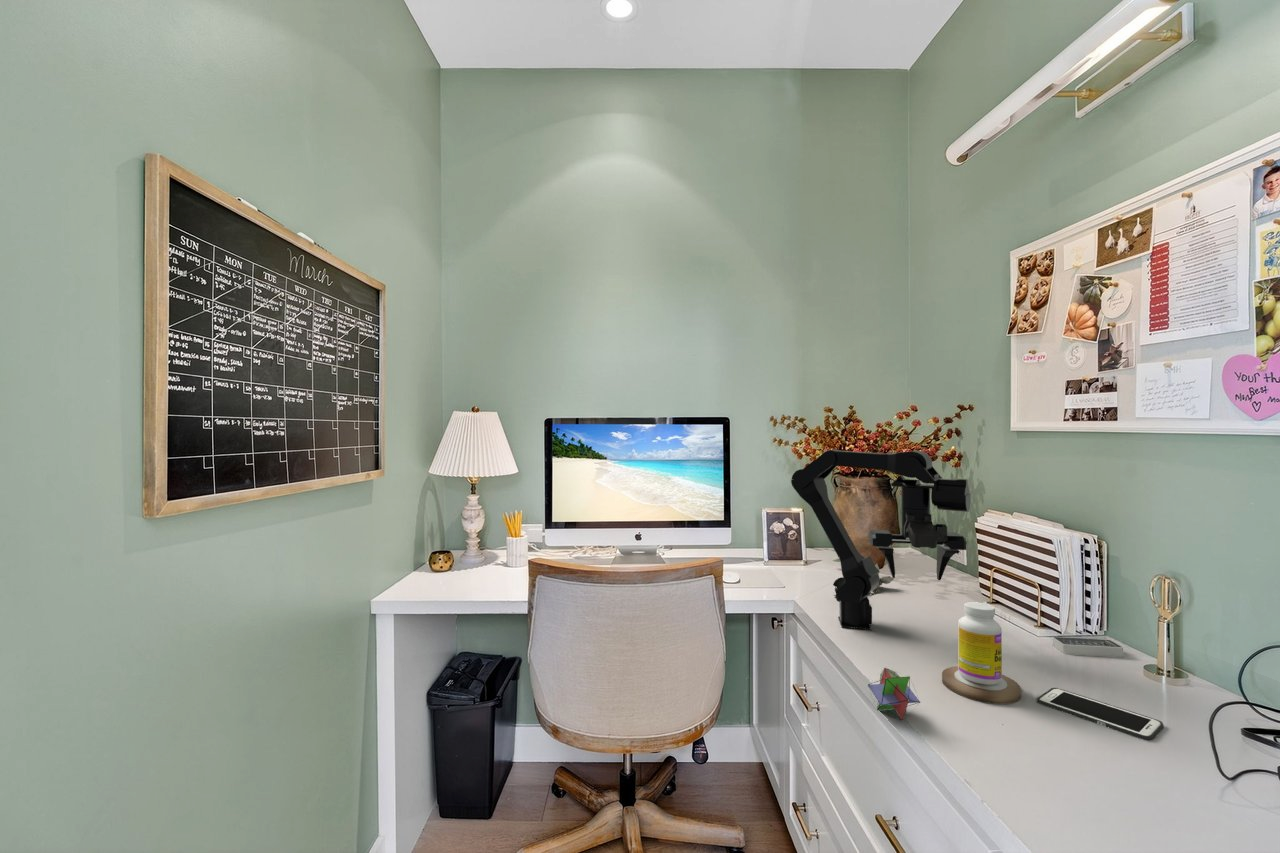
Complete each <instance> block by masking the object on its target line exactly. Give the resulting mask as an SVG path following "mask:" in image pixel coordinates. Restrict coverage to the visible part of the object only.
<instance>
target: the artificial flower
mask: <svg viewBox="0 0 1280 853" xmlns="http://www.w3.org/2000/svg"><path fill="white" fill-rule="evenodd" d="M874 565H875V567H876V568H877V569H878V570H879V571H880V567H879V565H878V563H876V564H874ZM879 574H880V572H879V573H878V575H879ZM879 576H880V575H879ZM879 578H880V577H879ZM894 579H895V578H893V577H892V576H891V575H886V576H883V577H881V578H880V581H879V585H878V586H877V588H875V589H874V590H873V591H872V592H871V594H870V596H873V595H874V594H875V595H876V593H877V592H878V591H879V590H880V588H879V587H880V586H882V585H883V584H885V585H887V584H890V583H891V582H892V581H894ZM844 584H845V581H844V578H843V576H842V577H838V578H836V579H835V580H834V582H833V584H832V586H834V591H835V593H836V590H838V589H839V588H840V587H841V586H843V585H844ZM833 596H834V599H836V601H837V602H839V600H838V598H837V595H836V594H833Z"/></svg>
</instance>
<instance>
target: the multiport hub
mask: <svg viewBox="0 0 1280 853" xmlns="http://www.w3.org/2000/svg"><path fill="white" fill-rule="evenodd" d="M1051 641H1052V647H1053V648H1054V649H1056V650H1057V651H1059V652H1060V653H1061V654H1064V655H1073V656H1076V655H1077V656H1088V657H1089V656H1093V657H1109V658H1120V659H1121V658H1124V647H1123V646H1121V645H1119V644H1118V643H1116V642H1115V641H1113V640H1110V639H1102V638H1101V639H1100V638H1099V639H1097V638H1083V637H1082V638H1079V637H1061V636H1059V637H1058V636H1053V637H1052V640H1051Z"/></svg>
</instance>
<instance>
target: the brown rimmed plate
mask: <svg viewBox="0 0 1280 853" xmlns="http://www.w3.org/2000/svg"><path fill="white" fill-rule="evenodd" d="M941 681H942V682H941V683H942V684H943V686H944V687H946V688H947V689H948V690H950V691H951V692H953V693H955V694H957V695H959V696H962V697H963V698H966V699H970V700H974V701H978V702H982V703H988V704H995V705H1006V704H1007V705H1008V704H1014V703H1016V702H1019V701H1020V700H1021V698H1022V687H1021V685H1020V684H1019V683H1018V682H1017V681H1015V679H1012V678H1011V677H1009V676H1006V675H1004V674H1002V680H1001V682H1000V683H998V684H995V685H985V684H979V683H975V682H972V681H969V680H967V679H965V678H963V677H962V676H961V675H960V674H959V671H958V665H957V666H956V665H955V666H950V667H946V668H945V669H943V670H942V672H941Z"/></svg>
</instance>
